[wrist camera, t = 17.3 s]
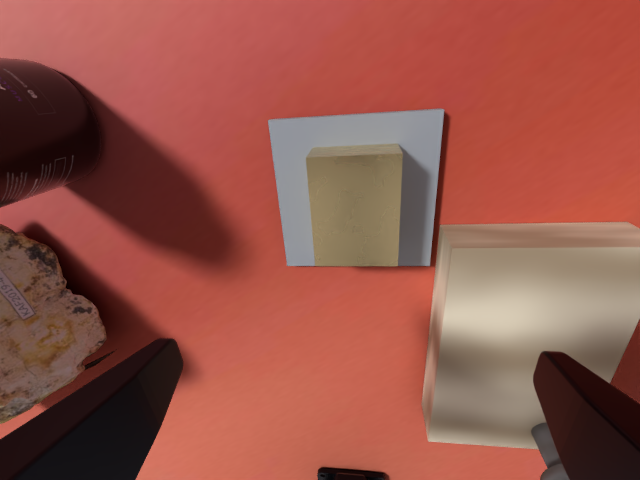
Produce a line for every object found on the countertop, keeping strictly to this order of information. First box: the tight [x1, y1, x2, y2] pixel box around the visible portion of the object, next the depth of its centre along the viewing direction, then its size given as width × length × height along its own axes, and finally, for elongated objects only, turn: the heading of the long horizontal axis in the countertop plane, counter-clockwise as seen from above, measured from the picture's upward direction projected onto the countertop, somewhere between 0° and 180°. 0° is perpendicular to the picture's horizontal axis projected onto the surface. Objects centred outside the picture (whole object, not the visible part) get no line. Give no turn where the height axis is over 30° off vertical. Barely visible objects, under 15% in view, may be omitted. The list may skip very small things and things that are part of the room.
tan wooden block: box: [306, 143, 403, 266], centre depth 18 cm, size 6×4×2 cm
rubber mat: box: [268, 109, 444, 266], centre depth 19 cm, size 9×9×1 cm
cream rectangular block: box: [422, 222, 640, 480], centre depth 19 cm, size 16×10×6 cm, turn 4°
